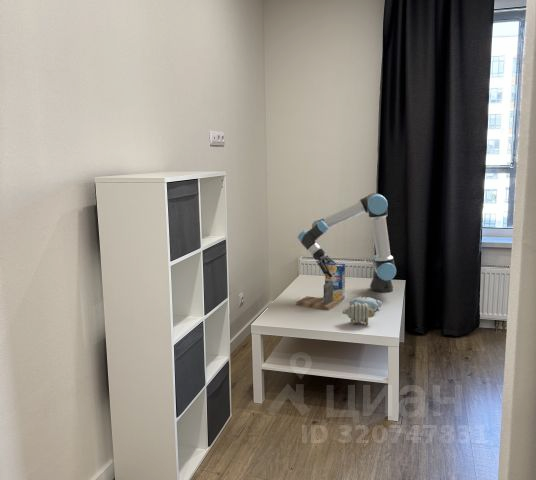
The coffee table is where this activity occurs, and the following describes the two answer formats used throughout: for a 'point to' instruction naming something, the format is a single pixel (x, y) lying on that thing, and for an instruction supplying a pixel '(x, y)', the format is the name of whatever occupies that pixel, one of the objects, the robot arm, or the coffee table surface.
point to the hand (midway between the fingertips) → (339, 278)
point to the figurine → (367, 302)
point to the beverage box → (339, 284)
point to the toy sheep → (359, 313)
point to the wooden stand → (320, 299)
